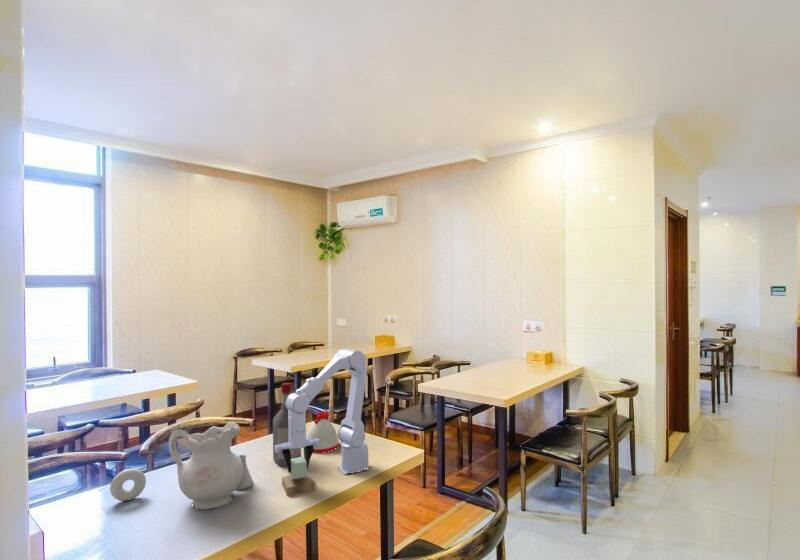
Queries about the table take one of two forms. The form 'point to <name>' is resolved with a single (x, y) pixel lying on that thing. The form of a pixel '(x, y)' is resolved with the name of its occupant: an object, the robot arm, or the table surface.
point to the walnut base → (297, 485)
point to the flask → (245, 475)
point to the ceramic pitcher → (208, 465)
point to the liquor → (283, 429)
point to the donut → (126, 475)
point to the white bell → (323, 433)
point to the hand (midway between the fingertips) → (297, 469)
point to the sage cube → (298, 468)
